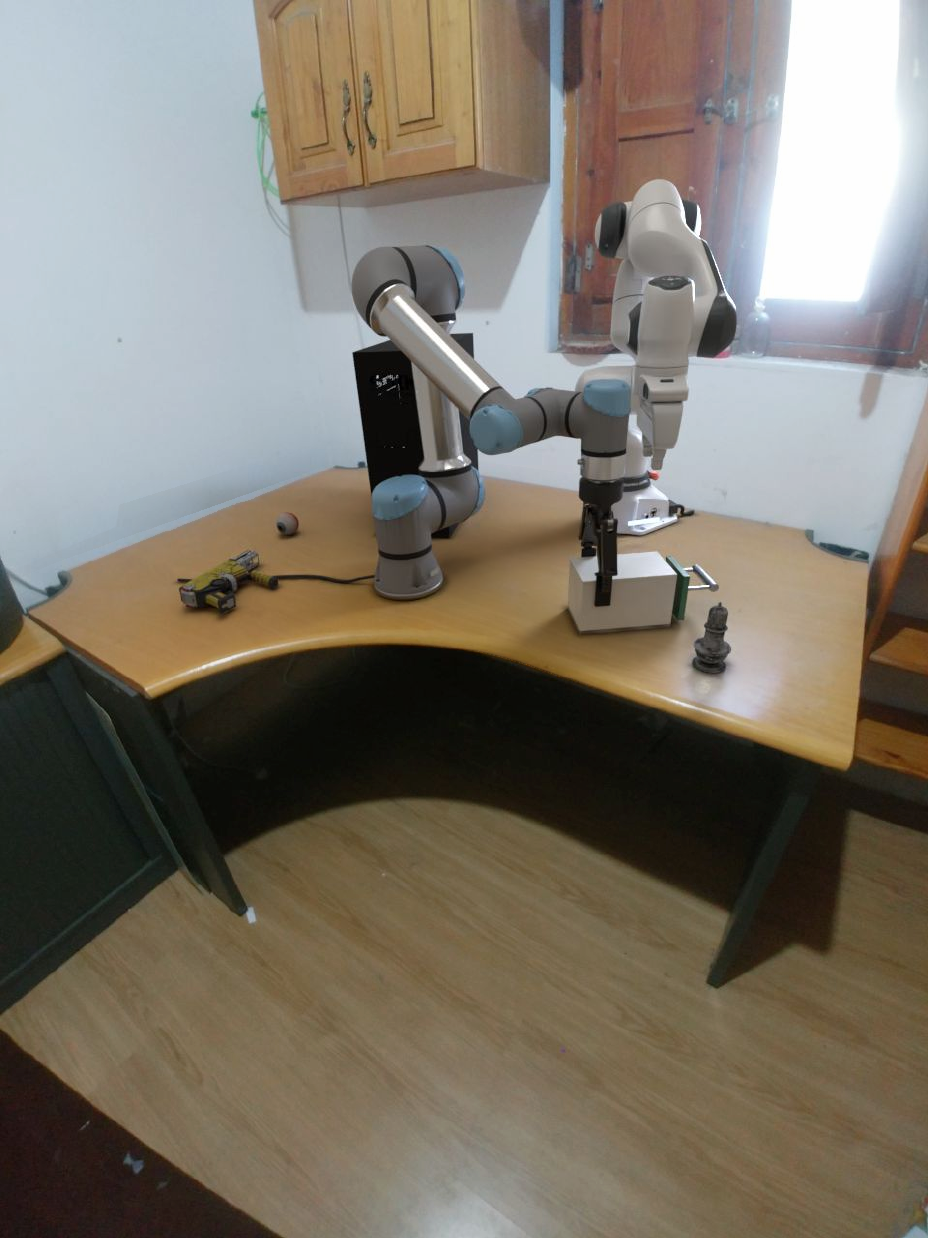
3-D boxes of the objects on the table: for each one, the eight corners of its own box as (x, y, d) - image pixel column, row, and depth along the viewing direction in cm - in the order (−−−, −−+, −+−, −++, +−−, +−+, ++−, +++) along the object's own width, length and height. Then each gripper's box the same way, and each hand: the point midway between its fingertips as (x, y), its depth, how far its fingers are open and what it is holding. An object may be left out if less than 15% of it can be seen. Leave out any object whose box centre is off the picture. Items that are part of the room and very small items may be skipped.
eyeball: (273, 537, 164) (268, 516, 161) (287, 528, 169) (282, 508, 166) (291, 539, 161) (286, 518, 158) (305, 530, 166) (301, 510, 163)
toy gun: (299, 558, 143) (245, 547, 147) (233, 601, 123) (173, 587, 126) (300, 576, 145) (248, 565, 149) (236, 621, 125) (177, 606, 129)
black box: (449, 537, 157) (436, 349, 134) (376, 534, 161) (352, 352, 139) (479, 491, 188) (473, 332, 166) (417, 489, 193) (403, 335, 170)
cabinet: (651, 601, 122) (657, 551, 117) (669, 627, 114) (677, 574, 108) (567, 608, 122) (569, 557, 116) (579, 634, 113) (582, 581, 107)
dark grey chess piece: (730, 675, 99) (743, 611, 93) (692, 672, 100) (703, 609, 94) (724, 655, 104) (736, 594, 98) (688, 653, 105) (698, 592, 99)
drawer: (694, 595, 122) (701, 553, 117) (714, 617, 114) (722, 573, 109) (587, 604, 121) (590, 562, 116) (599, 627, 113) (603, 583, 108)
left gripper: (565, 460, 113) (562, 567, 124) (597, 500, 93) (590, 623, 104) (605, 457, 113) (598, 564, 124) (645, 496, 94) (632, 619, 105)
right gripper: (632, 375, 114) (626, 449, 121) (651, 392, 97) (642, 477, 103) (666, 374, 114) (658, 448, 120) (691, 391, 96) (680, 477, 103)
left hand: (594, 591), depth 114 cm, fingers closed on cabinet, 10 cm apart
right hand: (651, 462), depth 112 cm, fingers open, 8 cm apart
